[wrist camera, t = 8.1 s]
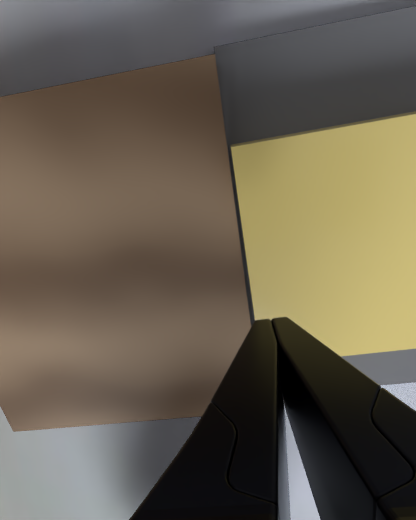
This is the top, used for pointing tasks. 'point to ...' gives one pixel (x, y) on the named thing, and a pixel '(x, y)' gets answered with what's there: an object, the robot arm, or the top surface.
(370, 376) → the mat
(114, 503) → the top surface
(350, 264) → the butter block
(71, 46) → the top surface
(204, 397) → the cutting block
